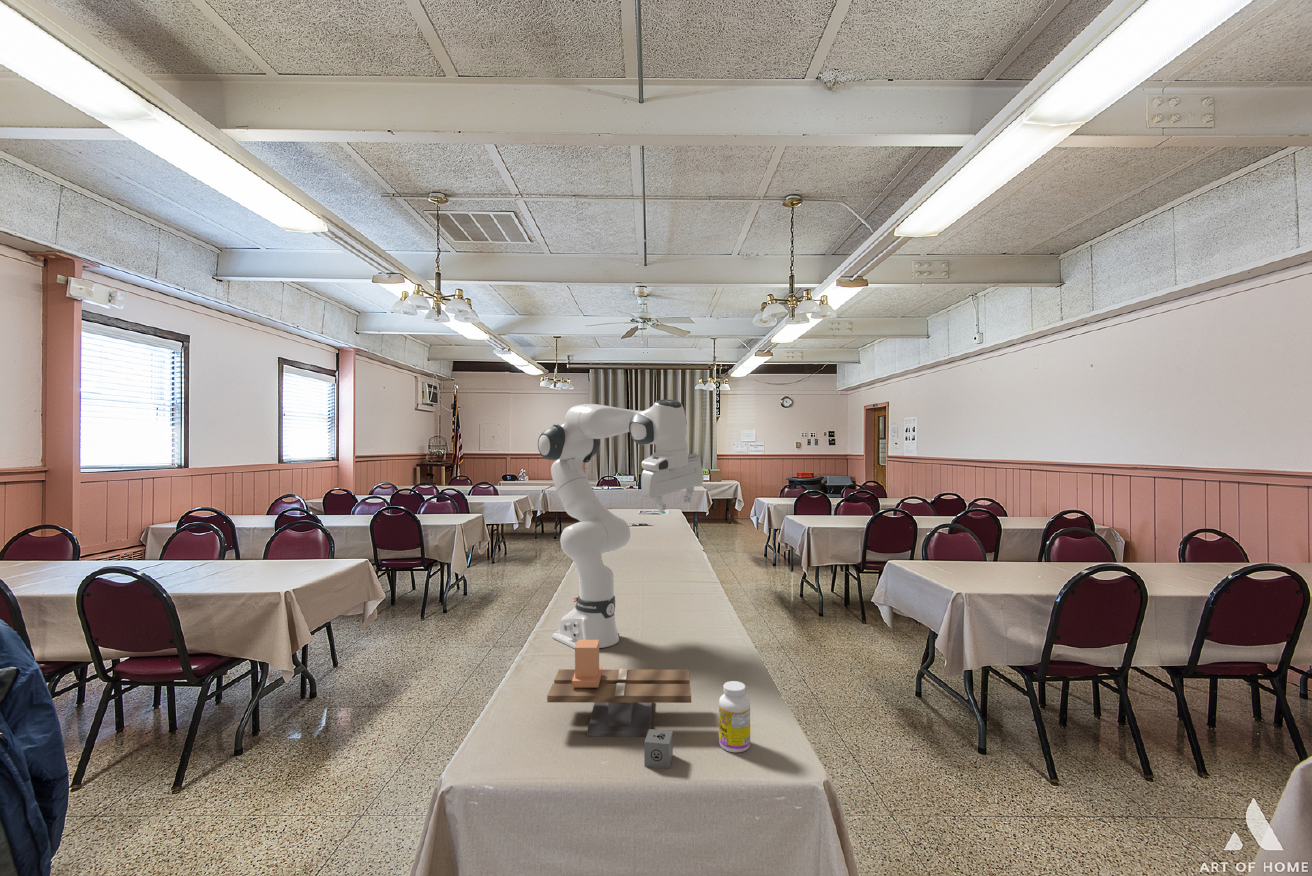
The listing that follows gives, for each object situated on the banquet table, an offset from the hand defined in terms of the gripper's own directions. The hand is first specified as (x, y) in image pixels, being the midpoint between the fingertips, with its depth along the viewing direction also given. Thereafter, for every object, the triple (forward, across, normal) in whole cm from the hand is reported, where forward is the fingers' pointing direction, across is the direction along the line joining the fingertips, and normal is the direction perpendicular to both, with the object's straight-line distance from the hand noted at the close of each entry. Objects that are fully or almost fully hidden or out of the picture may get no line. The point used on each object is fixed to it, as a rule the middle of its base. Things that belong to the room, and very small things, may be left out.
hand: (675, 506), depth 159 cm
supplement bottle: (+40, +22, +41) cm, 61 cm away
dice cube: (+38, +38, +35) cm, 64 cm away
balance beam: (+40, +34, +16) cm, 55 cm away
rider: (+32, +39, +11) cm, 52 cm away
